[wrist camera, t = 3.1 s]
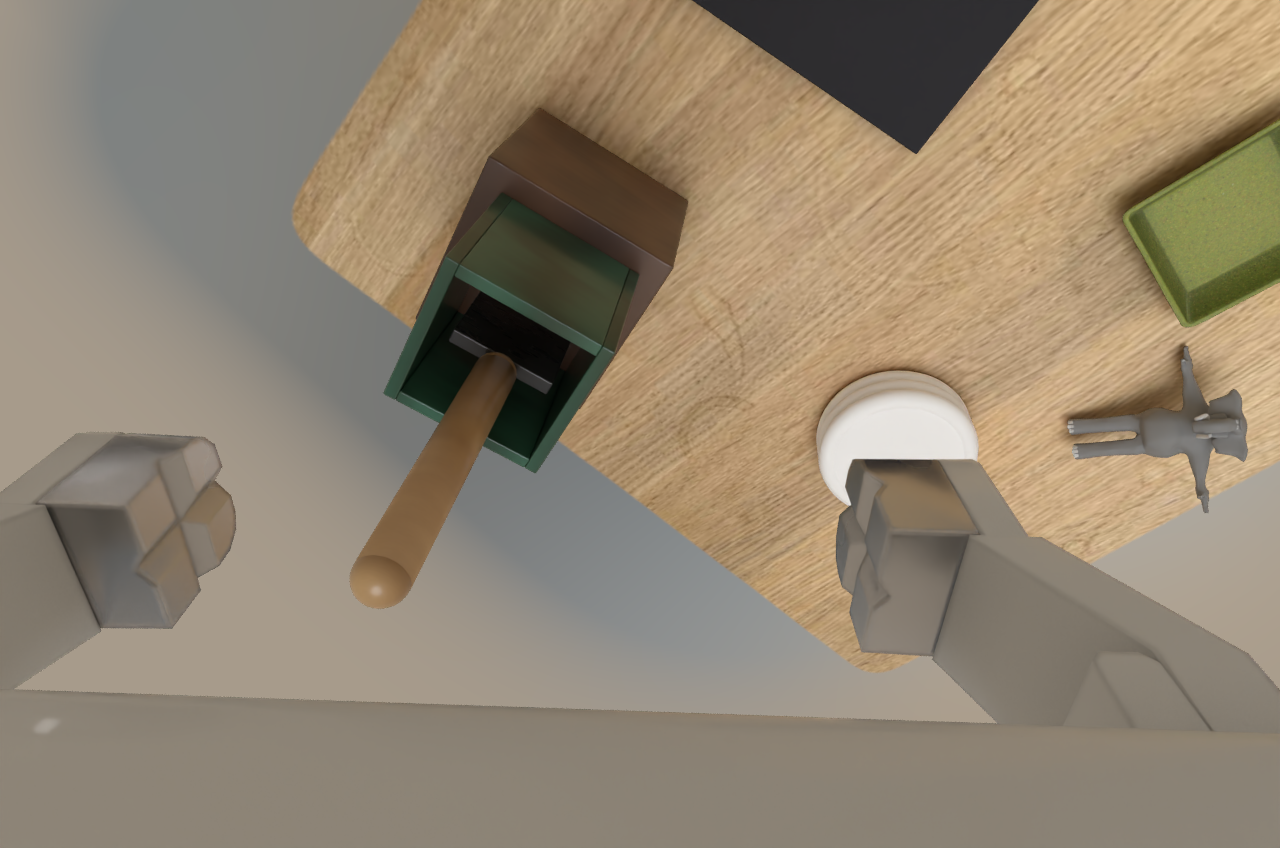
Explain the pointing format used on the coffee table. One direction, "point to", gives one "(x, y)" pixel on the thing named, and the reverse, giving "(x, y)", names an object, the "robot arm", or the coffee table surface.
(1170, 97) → the coffee table surface
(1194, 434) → the elephant figurine
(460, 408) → the spatula
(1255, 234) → the green square dish
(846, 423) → the white round tub
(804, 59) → the mat
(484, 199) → the open box
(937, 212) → the coffee table surface
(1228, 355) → the coffee table surface
